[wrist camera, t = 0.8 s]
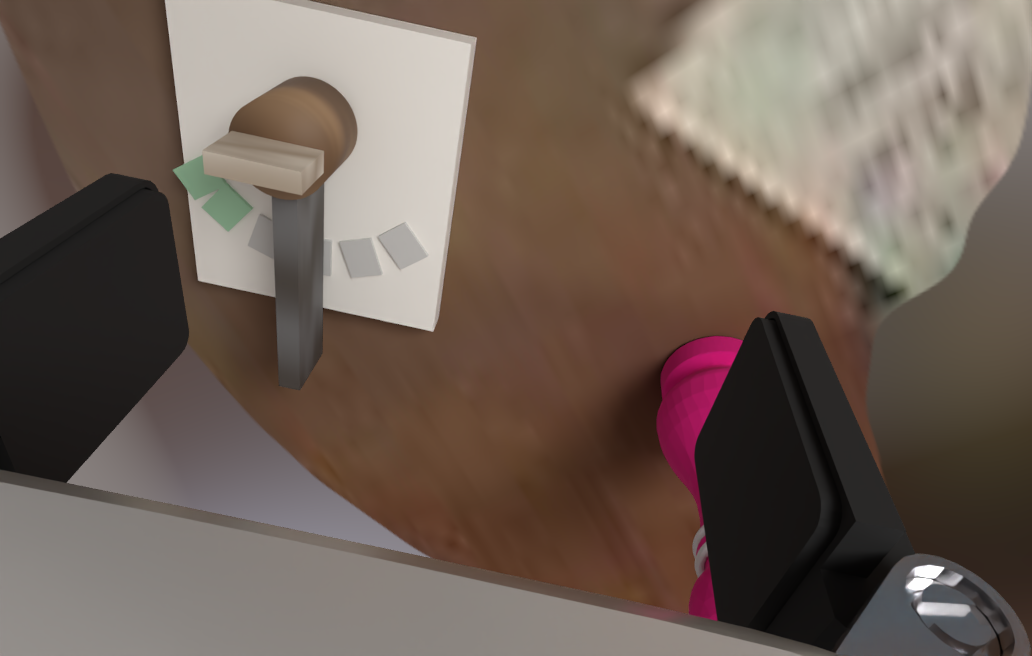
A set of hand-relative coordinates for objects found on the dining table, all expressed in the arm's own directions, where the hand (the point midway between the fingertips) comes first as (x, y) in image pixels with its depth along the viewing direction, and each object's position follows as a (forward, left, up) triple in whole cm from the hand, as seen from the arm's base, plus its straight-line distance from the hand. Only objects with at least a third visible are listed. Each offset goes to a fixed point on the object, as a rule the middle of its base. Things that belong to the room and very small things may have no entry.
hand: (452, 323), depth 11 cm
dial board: (+9, -10, -24) cm, 27 cm away
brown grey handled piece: (+12, -10, -22) cm, 27 cm away
